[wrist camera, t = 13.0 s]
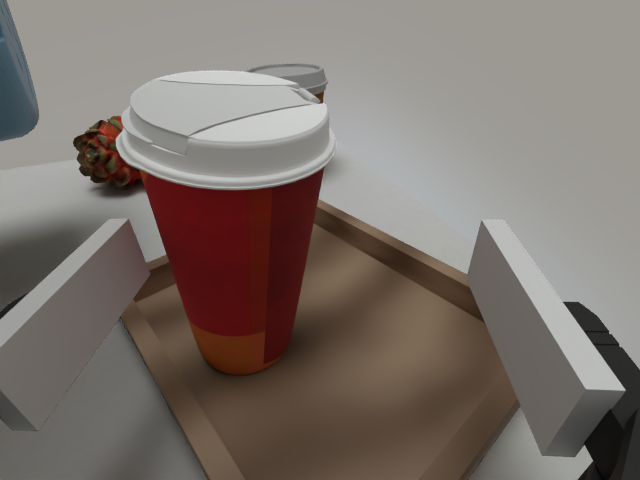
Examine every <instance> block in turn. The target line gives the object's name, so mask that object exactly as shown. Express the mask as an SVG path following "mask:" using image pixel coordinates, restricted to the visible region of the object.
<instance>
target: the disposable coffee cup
mask: <svg viewBox="0 0 640 480" xmlns="http://www.w3.org/2000/svg"><path fill="white" fill-rule="evenodd" d="M244 72H250V73H258V74H264V75H269V76H274V77H278V78H282V79H285V80H289V81H292V82H295V83H297V84H299V86H300V87H301V88H303V89H305V90H307V91H308V92H310V93H311V94H312V95H314V96H315V97H317V98H318V99H319V100H320V103H317V104H322V103H323V94H324V90H325V88H326V84H327V83H328V80H327V79H326V78H325V74H324V69H323V67H322V66H319V65H313V64H297V63H296V64H274V65H265V66H259V67H254V68H250V69H247V70H245V71H244Z"/></svg>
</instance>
